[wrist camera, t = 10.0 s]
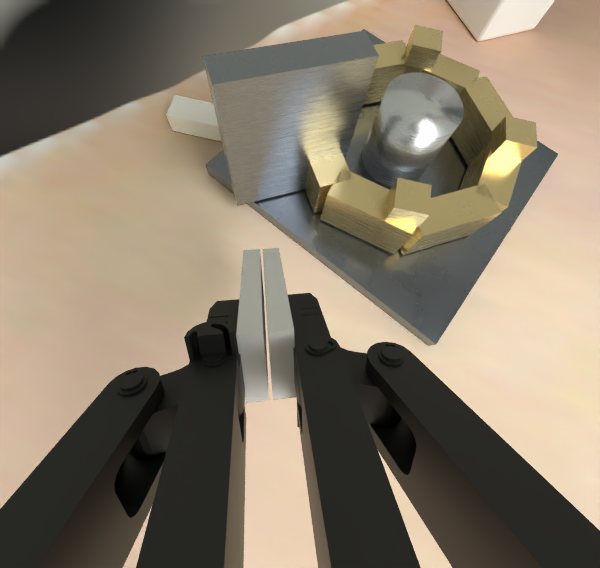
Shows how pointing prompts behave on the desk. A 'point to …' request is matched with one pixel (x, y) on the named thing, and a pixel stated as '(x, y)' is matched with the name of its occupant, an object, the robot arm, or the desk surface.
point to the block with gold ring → (340, 128)
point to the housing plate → (384, 171)
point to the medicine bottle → (499, 16)
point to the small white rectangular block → (193, 117)
